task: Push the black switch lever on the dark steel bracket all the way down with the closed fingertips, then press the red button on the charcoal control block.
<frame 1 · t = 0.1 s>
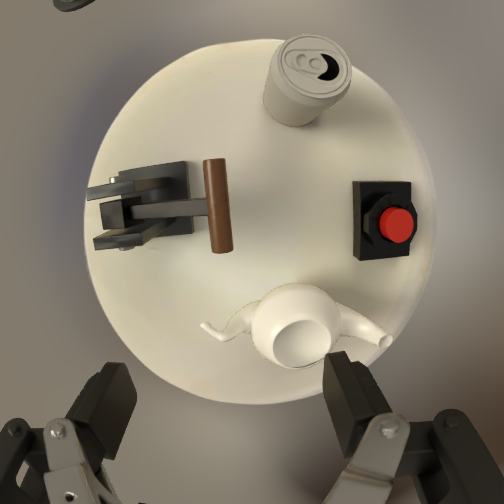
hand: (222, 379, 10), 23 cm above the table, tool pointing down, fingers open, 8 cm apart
beverage can: (290, 101, 29), on the table
bracket: (156, 200, 31), on the table
control block: (378, 217, 32), on the table
teapot: (288, 302, 35), on the table
button: (396, 224, 28), point 4 cm above the table, slide at 0.1 cm
lever: (159, 209, 20), point 12 cm above the table, hinge at 22.0°
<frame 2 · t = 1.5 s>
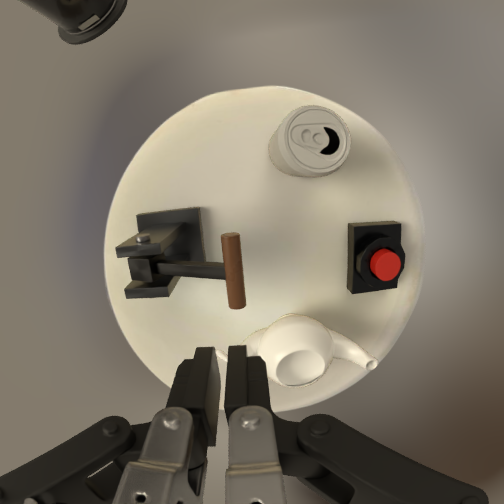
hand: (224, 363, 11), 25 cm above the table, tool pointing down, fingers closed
beverage can: (294, 150, 33), on the table
bracket: (172, 241, 35), on the table
control block: (371, 254, 37), on the table
teapot: (289, 328, 39), on the table
button: (385, 264, 32), point 4 cm above the table, slide at 0.1 cm
lever: (183, 268, 24), point 12 cm above the table, hinge at 22.0°
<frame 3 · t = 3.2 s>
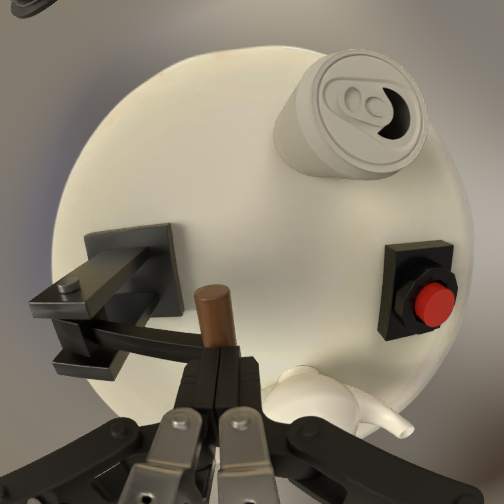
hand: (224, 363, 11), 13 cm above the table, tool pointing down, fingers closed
beverage can: (311, 137, 21), on the table
bracket: (135, 272, 24), on the table
control block: (410, 285, 25), on the table
teapot: (298, 381, 28), on the table
button: (434, 304, 21), point 4 cm above the table, slide at 0.1 cm
lever: (133, 339, 13), point 11 cm above the table, hinge at 15.4°
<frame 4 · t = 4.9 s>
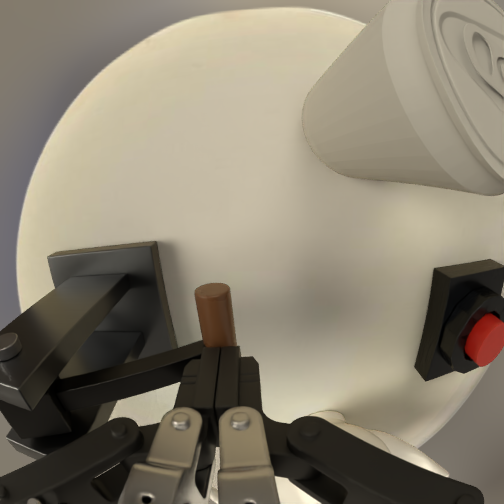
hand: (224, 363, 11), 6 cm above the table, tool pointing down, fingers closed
beverage can: (350, 125, 15), on the table
bracket: (113, 303, 17), on the table
control block: (455, 314, 19), on the table
teapot: (319, 426, 22), on the table
button: (486, 340, 14), point 4 cm above the table, slide at 0.1 cm
lever: (117, 382, 10), point 8 cm above the table, hinge at -29.4°, touching gripper
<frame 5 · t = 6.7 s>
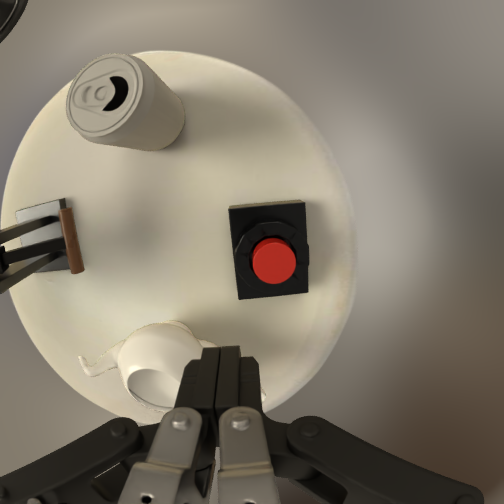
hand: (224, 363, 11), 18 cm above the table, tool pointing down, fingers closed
beverage can: (155, 121, 25), on the table
bracket: (46, 236, 27), on the table
control block: (268, 246, 29), on the table
teapot: (174, 337, 32), on the table
button: (273, 260, 25), point 4 cm above the table, slide at 0.1 cm
lever: (26, 252, 20), point 8 cm above the table, hinge at -29.4°
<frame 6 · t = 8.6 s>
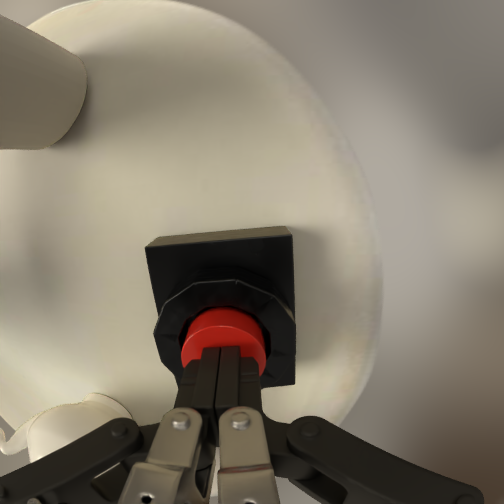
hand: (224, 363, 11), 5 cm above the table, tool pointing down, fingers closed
beverage can: (54, 101, 13), on the table
control block: (228, 307, 16), on the table
teapot: (108, 412, 19), on the table
button: (224, 350, 12), point 4 cm above the table, slide at -0.1 cm, touching gripper
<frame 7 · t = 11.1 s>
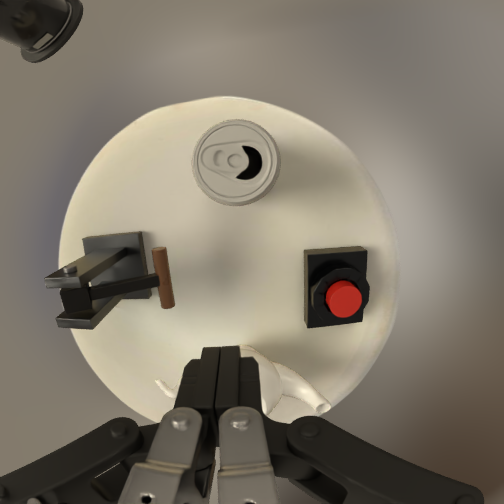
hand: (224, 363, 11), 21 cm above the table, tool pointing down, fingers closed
beverage can: (240, 168, 30), on the table
bracket: (117, 265, 33), on the table
control block: (332, 284, 33), on the table
teapot: (241, 359, 36), on the table
button: (343, 298, 29), point 4 cm above the table, slide at 0.1 cm
lever: (116, 288, 25), point 8 cm above the table, hinge at -29.4°
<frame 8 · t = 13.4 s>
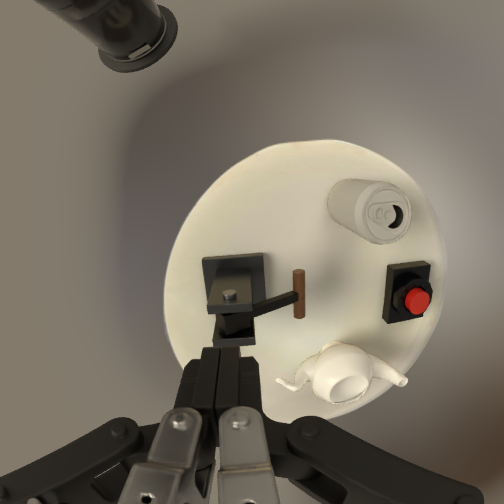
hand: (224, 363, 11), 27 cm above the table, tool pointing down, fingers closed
beverage can: (347, 202, 37), on the table
bracket: (235, 282, 39), on the table
control block: (403, 289, 40), on the table
teapot: (332, 352, 43), on the table
button: (417, 301, 36), point 4 cm above the table, slide at 0.1 cm
lever: (265, 306, 32), point 8 cm above the table, hinge at -29.4°
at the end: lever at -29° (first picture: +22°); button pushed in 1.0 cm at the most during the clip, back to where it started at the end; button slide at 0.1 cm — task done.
